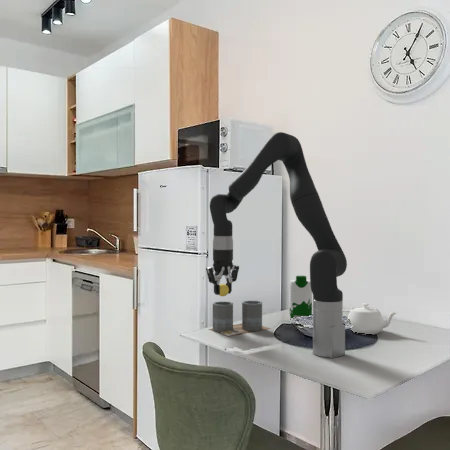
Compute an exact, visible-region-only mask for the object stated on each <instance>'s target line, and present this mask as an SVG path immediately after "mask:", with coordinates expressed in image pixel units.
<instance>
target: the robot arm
mask: <svg viewBox="0 0 450 450" xmlns="http://www.w3.org/2000/svg"><path fill="white" fill-rule="evenodd" d="M277 161H281V162H282V163H283V165H284V167H285V170H286V172H287V174H288V179H289V198H290V199H289V200H290V203H291V205H292V208H293V211H294V213H295V216H296V218H297V220H298V221H299V222H300V223H301V225H302V226H303V228H304V229H305V230H306V231H307V232H308V233H309V235H310V236H311V238H312V239H313V242H314V243H315V246H316V248H317V251H315V252H314V253H313V254H312V256H311V257H310V260H309V261H310V262H309V280H310V286H311V291H312V354H314V356H319V357H323V358H331V359H334V358H338V357H341V356H345V355H346V325H345V324H343V323H344V322H343V318H344V317H343V315H344V314H343V313H344V312H343V310H344V309H343V307H344V305H343V300H344V299H343V298H344V297H343V295H344V294H343V291H342V290H341V289H339V288H338V282H337V279H338V277H341V276H342V275H344V274H345V272H346V270H347V266H348V262H347V257H346V255H345V253H344V251H343V249H342V247H341V245H340V242H339V241H338V239H337V237H336V236H335V233H334V230H333V229H332V226H331V223H330V221H329V217H328V216H327V214H326V211H325V208H324V205H323V203H322V200H321V197H320V195H319V192H318V190H317V188H316V185H315V183H314V180H313V177H312V175H311V174H310V170H309V168H308V165H307V162H306V158H305V155H304V151H303V148H302V144H301V143H300V140H299V139H298V138H297V137H296V136H294V135H292V134H289V133H286V132H283V131H282V132H281V131H280V132H275V133H274V134H272V135H271V137H269V138H268V140H267V141H266V142H265V144H264V145H263V147H262V148H261V149H260V150H259V152H258V153H257V154H256V156H255V157H254V159H253V160H252V161H251V162H250V164H249V165H248V166H247V167H246V168H245V169H244V170H243V171H241V173H240V174H239V175H238V176H236V178H234V179H233V180H232V182H230V184H229V185H228V192H227V193H226V194H222V193H215V194H214V195H213V196H212V197H211V199H210V201H209V212H210V216H211V221H212V224H213V237H212V238H213V240H212V261H213V264H212V266H210V267H209V266H208V267H206V268H205V270H206V274H207V279H208V282H209V283H210V284H212V285H213V293H214V294H215V295H216V296H220V295H219V294H220V282H221V279H222V277H224V278H225V282H226V283H225V285H227V286H228V288H229V292H228V294H227V295H229V294H231V292H232V290H233V289H232V285H233V283H235V282H236V281H237V280H238V275H239V269H240V266H239V265H234V263H233V261H234V239H233V221H231V220H230V219H229V218H228V216H227V214H230V213H232V212H234V211H235V210H236V209H238V207H239V205H240V204H241V203H242V202H243V200H244V198H245V197H246V196H247V195H249V194H250V193H251V191H253V190H254V189H255V188H256V187H257V185H258V184H259V182H260V181H261V178H262V177H263V175H264V173H265V172H266V170H268V169H269V167H271V166H272V165H273V164H274V163H276V162H277Z"/></svg>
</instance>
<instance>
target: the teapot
mask: <svg viewBox="0 0 450 450" xmlns="http://www.w3.org/2000/svg"><path fill="white" fill-rule="evenodd" d="M361 305H362V306H355V307H352V308H351V309H343V313H344V312H345V313H346V312H347V313H348V316H347V318H348V319H350V321H351V323H352V325H353V327H352V328H351V329H349V330H352V331H353V333H355V332H357V333H356V334H358V333H365V334H364V335H366V334H372V335H377V334H379V333H380V332H382V331H383V330H384V329H385V328H387V327H389V325H390V324H391V321H392V319H393V317H394V316H395V315H398V312H395V311H394V312H393V311H391V312H390V313H389V315H388V317H387V318H386V319H385V320H384V317H383V315H382V313H381V311H380V309H378V308H375V307H369V303H366V302H365V303H364V302H363V303H361ZM352 331H351V332H352Z"/></svg>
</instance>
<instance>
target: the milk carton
mask: <svg viewBox="0 0 450 450" xmlns="http://www.w3.org/2000/svg"><path fill="white" fill-rule="evenodd" d="M309 315H312V316H313V293H312V291H311V286H310V279H307V276H306V275H296V276H295V279H290V283H289V317H290V319H291V318H293V317H301V316H309Z"/></svg>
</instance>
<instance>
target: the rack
mask: <svg viewBox="0 0 450 450" xmlns="http://www.w3.org/2000/svg"><path fill="white" fill-rule="evenodd" d="M241 305H242V307H241V310H242V311H241V315H242V316H241V323H237V324H234V302H232V301H225V300H223V301H221V300H220V301H214V302H213V303H212V328H208V330H209V331H211V332H213V333H217V334H220V335H223V336H226V337H228V338H229V337H235V336H240V335H245V334H250V333H256V332H260V331H265V330H271V329H272V328H270V327H267V326H263V301H260V300H243V301H242V302H241Z"/></svg>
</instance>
